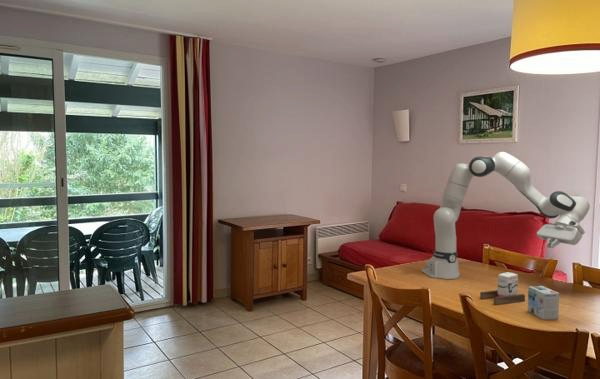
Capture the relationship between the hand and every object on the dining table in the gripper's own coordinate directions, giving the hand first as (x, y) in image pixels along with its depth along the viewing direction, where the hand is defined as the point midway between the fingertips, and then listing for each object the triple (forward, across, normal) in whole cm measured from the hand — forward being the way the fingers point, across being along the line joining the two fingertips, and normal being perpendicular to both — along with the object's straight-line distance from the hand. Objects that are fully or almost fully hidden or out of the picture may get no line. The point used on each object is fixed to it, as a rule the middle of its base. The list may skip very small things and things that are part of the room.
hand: (549, 247), depth 202 cm
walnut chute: (+35, 0, -3) cm, 35 cm away
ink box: (+33, 0, -1) cm, 33 cm away
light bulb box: (+35, +21, -2) cm, 41 cm away
